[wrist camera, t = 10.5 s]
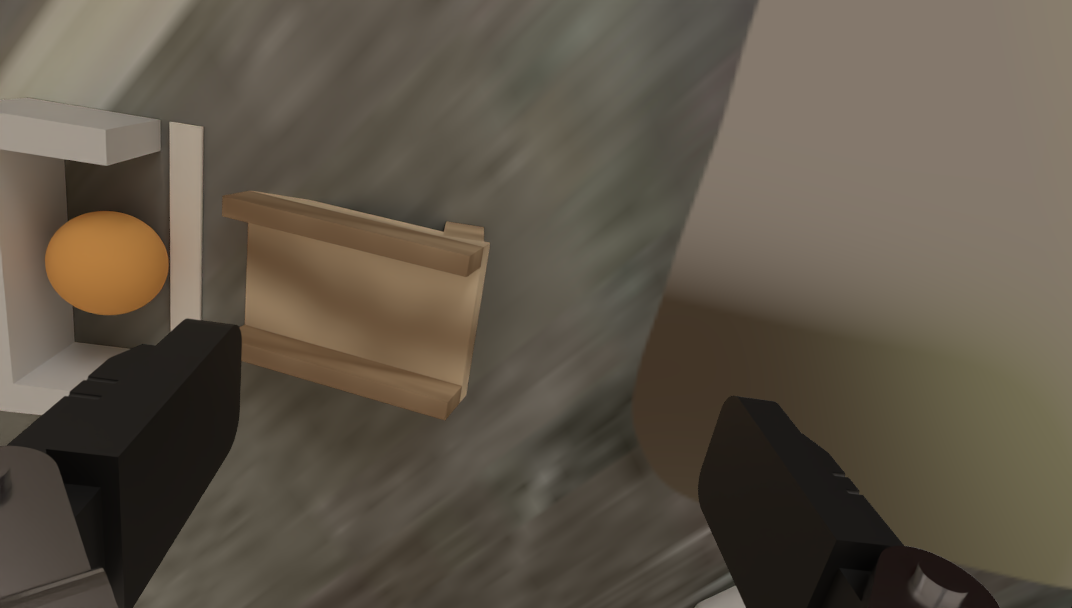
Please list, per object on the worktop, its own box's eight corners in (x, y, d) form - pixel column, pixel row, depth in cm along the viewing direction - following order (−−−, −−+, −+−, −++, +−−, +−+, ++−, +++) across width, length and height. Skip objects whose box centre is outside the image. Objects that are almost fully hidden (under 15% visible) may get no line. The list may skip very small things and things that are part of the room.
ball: (84, 196, 34) (13, 213, 29) (186, 210, 34) (132, 230, 29) (89, 290, 35) (22, 322, 30) (187, 303, 35) (136, 336, 31)
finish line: (171, 121, 32) (169, 121, 32) (203, 126, 33) (201, 127, 32) (172, 378, 37) (170, 380, 37) (200, 381, 37) (199, 383, 37)
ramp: (242, 185, 35) (187, 213, 28) (489, 224, 36) (490, 259, 30) (238, 333, 37) (187, 389, 31) (467, 362, 39) (464, 422, 33)
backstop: (27, 97, 32) (-53, 104, 27) (160, 119, 32) (105, 129, 28) (46, 363, 36) (-19, 408, 31) (162, 377, 37) (116, 423, 32)
